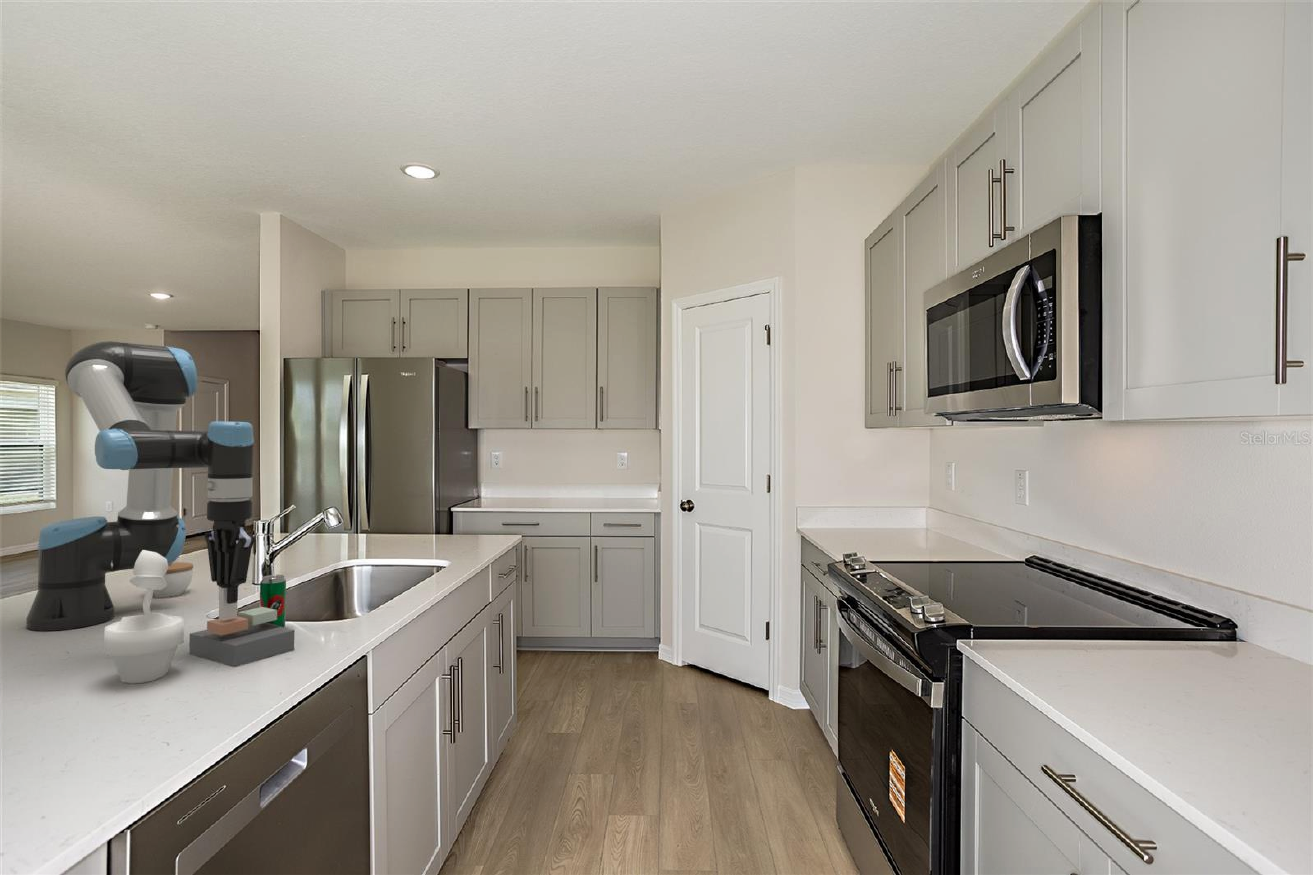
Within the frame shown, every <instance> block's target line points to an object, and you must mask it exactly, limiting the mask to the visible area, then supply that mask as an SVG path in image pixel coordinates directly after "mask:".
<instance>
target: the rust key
mask: <svg viewBox="0 0 1313 875" xmlns="http://www.w3.org/2000/svg"><path fill="white" fill-rule="evenodd" d="M246 629H248V619H246V618H242V617H238V616H237V618H235V619H231V620H226V621H220V620H219V618H215V619H211V620H207V621H206V630H207V632H211V633H215V634H218V635H226V634H230V633H234V632H238V631H242V630H246Z"/></svg>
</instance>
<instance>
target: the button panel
mask: <svg viewBox="0 0 1313 875" xmlns="http://www.w3.org/2000/svg"><path fill="white" fill-rule="evenodd" d="M295 634H296V633H295V629H293V628H288V627H280V626H278V625H274V624H270V623H261V624H257V625H249V624H248V629H246V630H242V631H238V632H234V633H230V634H226V635H218V634H215V633H211V632H207V629H203V630H201V631H200V630H198V631H196V632H191V633H189V641H188V642H189V645H188V646H189V647H188V648H189V652H188V654H190V655H193V656H196V657H199V658H203V659H206V660H209V661H213V662H216V663H220V664H223V665H227V666H230V667H233V668H235V667H239V666H242V665H245V664H249V663H250V664H251V663H253V662H255V661H259V660H264V659H267V658H269V657H273V656H277V655H280V654H284V653H286V652H292V651H294V650H295Z"/></svg>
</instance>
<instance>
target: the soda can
mask: <svg viewBox="0 0 1313 875" xmlns="http://www.w3.org/2000/svg"><path fill="white" fill-rule="evenodd" d="M286 595H287V579H286V578H285V575H284V574H283V575H282V574H268V575H264V576H262V578H261V581H260V583H259V607H265V608H270V609H274V610H277V620H274V621H270V622H266V623H270V624H274V625H278V626H280V627H284V628H286V612H287V611H286V605H287V604H286V602H287V600H286V598H287V596H286Z"/></svg>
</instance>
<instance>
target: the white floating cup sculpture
mask: <svg viewBox="0 0 1313 875" xmlns="http://www.w3.org/2000/svg"><path fill="white" fill-rule="evenodd" d="M123 554H124V553H123ZM111 566H113V564H112V563H111ZM168 568H169V567H168V562H167V559H166V558H164V557H163V556H161V555H160V554H158V553H156V552H151V551H146V550H142V552H141V553H140V555H139V556H138V558H137V560H136V562H135V565H134V569H132V572H133V576H132V577H131V578H130V579H129V580H128V582H129V583H130V584H132V585H133V586H135V587H136V588H140V589H145V593H144V596H143V602H142V609H143V614H139V615H132V616H129V615H128V616H122V618H121V620H119V621H115V622H113V623H110V624H108V625H105V626H104V640H103V641H104V642H103V643H104V646H103V647H104V648H103V649H104V651H103V652H104V653H103V654H105V655H110V657H111V659H112V662H113V664H114V667H115V669H116V672H117V673H118V677H119V679H120V681H121V682H122V683H123V682H124V683H127V684H133V685H134V684H144V683H149V682H153V681H156V680H159V679H160V678H162V677H164V676H165V675H167V673H168V671H169V669H170V665H171V664H172V661H173V658H174V656H175V654H176V651H177V648H178V646H179V645H181V644H182V643H184V642H185V641H184V637H185V636H184V635H185V630H184V629H185V620H184V617H183V616H179V615H171V614H170V615H168V614H164V613H161V612H160V613H159V612H152V610H151V605H152V604H151V603H152V599H153V596H154V595H153V590H162V589H163V588H165V587H166V586H167V583H166V581H165V579H164V578H163V577H164V575H165V573H166V572H167V570H168Z"/></svg>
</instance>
